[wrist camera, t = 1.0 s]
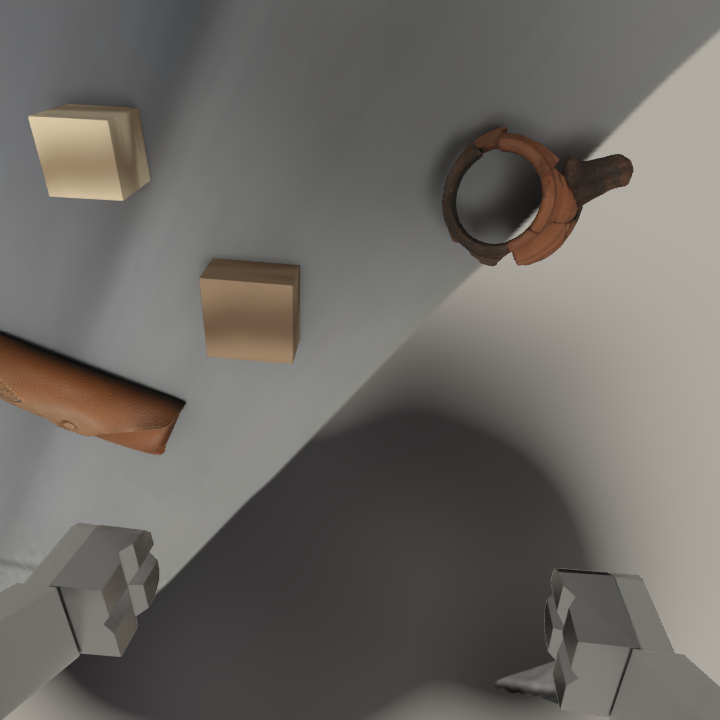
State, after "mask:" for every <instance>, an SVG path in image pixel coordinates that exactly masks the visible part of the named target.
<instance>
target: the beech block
mask: <svg viewBox="0 0 720 720" xmlns="http://www.w3.org/2000/svg"><path fill="white" fill-rule="evenodd" d="M28 118H29V122H30V125H31V129H32V133H33V136H34V140H35V144H36V147H37V151H38V155H39V159H40V162H41V166H42V170H43V173H44V177H45V181H46V185H47V188H48V192H49V196H51V197H68V198H85V199H102V200H119V201H124V200H125V199H126V198H128V197H129V196H130V195H132V194H133V193H134V192H136V191H137V190H139V189H140V188H141V187H143V186H144V185H145V184H147V183H148V182H149V181H150V175H149V169H148V163H147V157H146V151H145V145H144V139H143V132H142V126H141V120H140V114H139V108H133V107H115V106H97V105H79V104H65V105H62V106H59V107H56V108H53V109H49V110H46V111H43V112H40V113H37V114H33V115H30V116H28Z"/></svg>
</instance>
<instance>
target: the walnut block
mask: <svg viewBox="0 0 720 720" xmlns="http://www.w3.org/2000/svg"><path fill="white" fill-rule="evenodd" d="M199 280H200V290H201V299H202V309H203V319H204V328H205V338H206V347H207V357H219V358H231V359H243V360H255V361H267V362H279V363H291V364H293V361H294V358H295V354H296V350H297V347H298V343H299V324H300V265H288V264H275V263H263V262H251V261H239V260H226V259H214V258H213V259H212V261H211V262H210V264H209V265H208V266H207V268H206V269H205V271H204V272H203V273H202V275H201V276H200V278H199Z"/></svg>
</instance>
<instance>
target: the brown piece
mask: <svg viewBox="0 0 720 720" xmlns="http://www.w3.org/2000/svg"><path fill="white" fill-rule="evenodd" d="M507 131H508V130H507V128H506V127H500V128H497V129H495V130H492V131H490V132H487V133H485V134H483V135H482V136H480V137H478V138H477V140H476V141H472V142H471V143H470V144H468V145H467V147H466V148H465V149H464V151H463V152H462V153H461V154H460V156H459V157H458V159H457V160H456V162H455V164H454V165H453V167H452V169H451V171H450V173H449V175H448V177H447V180H446V183H445V187H444V193H443V200H442V206H443V216H444V220H445V222H446V225H447V227H448V231H449V234H450V236H451V238H452V240H453V242H458V243H460V244H461V245H463V246H464V247H465V248H466V249H467V250H468V251H469V252H470V254H471V255H472V256H473V257H475V258H477V259H478V260H479V262H480V263H482V264H485V265H488V266H495V265H496V264H497V262H498V261H500V260H501V259H502V258H503V257H504V256H506V255H507V254H508V253H510V252H512V253H513V257H514V260H515V261H516V264H517V265H530V264H532V263H535V262H538V261H541V260H543V259H545V258H546V257H548V256H550V255H551V254H553V253H554V252H555V251H556V250H557V249H559V248H560V247H561V245H563V243H564V241H565V240H566V239H567V238H568V236H569V235H570V233H571V232H572V230H573V228H574V227H575V225H576V223H577V221H578V219H579V216H580V213H581V211H582V208H583V207H582V206H583V205H584V204H586V203H587V202H589V201H590V200H592V199H594V198H596V197H598V196H600V195H602V194H604V193H606V192H607V191H609V190H611V189H614V188H618V187H623V186H626V185H627V184H628V183H629V181H630V179H631V176H632V173H633V166H632V163H631V161H630V160H629V159H628V158H626V157H624V156H623V155H621V154H615V155H610V156H607V157H603V158H598V159H594V160H590V161H579V160H578V159H577V158H575V157H574V156H569V157H568V158H567V159H566V162H565V163H564V166H563V174H564V176H563V175H562V174H561V173H559V172H558V171H557V169H556V168H555V166H556V165H557V164H558V162H559V161H560V159H559V158H558V157H557V156H556V155H555V154H554V153H553V152H551V151H550V150H549V149H547V148H546V147H544V146H543V145H542V144H541V143H539V142H537V141H534V140H532V139H530V138H527V137H525V136H523V135H519V134H513V133H507ZM498 148H499V150H500V151H505V152H512V153H515V154H518V155H520V156H522V157H524V158H525V159H526V160H528V161H529V162H530V163H531V164H532V166H533V167H534V168H535V170H536V172H537V174H538V176H539V177H540V181H541V186H542V198H541V204H540V208H539V211H538V213H537V215H536V217H535V219H534V221H533V222H532V223H531V225H530V226H529V227H528V228H527V229H526V230H525V231H524V232H523V233H522V234H520V235H519V236H518V237H516V238H514V239H512V240H509V241H507V242H506V243H500V244H489V243H484V242H481V241H479V240H477V239H475V238H473V237H472V236H470V235H469V234H468V233H467V232H466V231H465V229H464V228H463V226H462V225H461V223H460V221H459V218H458V215H457V210H456V196H457V191H458V188H459V185H460V182H461V180H462V178H463V176H464V174H465V173H466V171H467V170H468V169H469V168H470V167H471V166H472V165H473V164H474V163H475V162H476V161H477V160H478V159H480V158H481V157H482V156H483V153H485V152H488V151H490V150H493V149H498Z"/></svg>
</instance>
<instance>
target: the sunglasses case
mask: <svg viewBox="0 0 720 720" xmlns="http://www.w3.org/2000/svg"><path fill="white" fill-rule="evenodd" d="M0 398H1V399H3V400H5V401H6V402H9V403H11V404H13V405H15V406H17V407H19V408H22V409H24V410H26V411H29V412H31V413H34V414H36V415H39V416H42V417H44V418H47V419H48V420H49V421H50V422H52V423H53V424H55V425H57V426H59V427H62V428H64V429H67V430H70V431H73V432H75V433H78V434H81V435H85V436H96V437H99V438H102V439H104V440H107V441H110V442H113V443H115V444H119V445H122V446H125V447H128V448H132V449H135V450H138V451H141V452H145V453H149V454H155V455H161V454H163V453H164V452H165V448H166V443H167V441H168V439H169V437H170V435H171V433H172V430H173V428H174V425H175V423H176V421H177V418H178V416H179V413H180V412H181V410H182V409H183V407H184V405H186V404H185V403H182V402H181V401H180V400H177V399H175V398H172V397H168V396H165V395H163V394H160V393H157V392H153V391H150V390H147V389H144V388H141V387H137V386H134V385H132V384H130V383H126V382H123V381H120V380H116V379H113V378H111V377H109V376H107V375H104V374H101V373H98V372H96V371H94V370H91V369H88V368H86V367H83V366H80V365H77V364H74V363H71V362H69V361H66V360H64V359H61V358H59V357H57V356H54V355H52V354H49V353H46V352H44V351H41V350H38V349H36V348H33V347H30V346H28V345H26V344H23V343H21V342H18V341H16V340H13V339H10V338H7V337H5V336H3V335H1V334H0Z"/></svg>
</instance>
